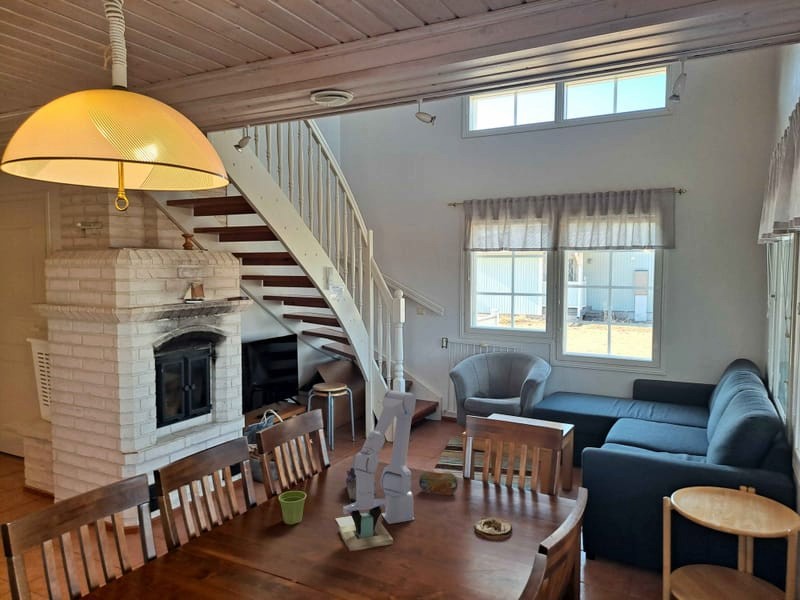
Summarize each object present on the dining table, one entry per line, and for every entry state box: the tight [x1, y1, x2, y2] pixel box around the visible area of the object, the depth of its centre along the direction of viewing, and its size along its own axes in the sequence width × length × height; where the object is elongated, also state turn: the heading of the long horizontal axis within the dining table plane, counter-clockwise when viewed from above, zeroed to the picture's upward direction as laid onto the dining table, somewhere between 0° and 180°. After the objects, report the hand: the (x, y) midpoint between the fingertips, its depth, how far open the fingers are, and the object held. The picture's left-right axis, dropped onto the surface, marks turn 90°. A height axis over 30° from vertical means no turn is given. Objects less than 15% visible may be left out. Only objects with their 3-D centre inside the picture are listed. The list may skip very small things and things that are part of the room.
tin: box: [418, 470, 459, 496], centre depth 216 cm, size 15×3×8 cm, turn 73°
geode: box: [345, 467, 377, 502], centre depth 217 cm, size 20×12×10 cm, turn 14°
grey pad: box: [335, 515, 355, 528], centre depth 190 cm, size 8×8×1 cm
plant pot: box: [278, 490, 307, 525], centre depth 191 cm, size 9×9×9 cm
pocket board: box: [338, 520, 394, 552], centre depth 180 cm, size 14×14×1 cm
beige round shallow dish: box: [473, 517, 513, 540], centre depth 184 cm, size 15×15×4 cm
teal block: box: [357, 512, 374, 539], centre depth 180 cm, size 4×4×7 cm
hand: (365, 531), depth 180 cm, fingers closed on teal block, 4 cm apart
